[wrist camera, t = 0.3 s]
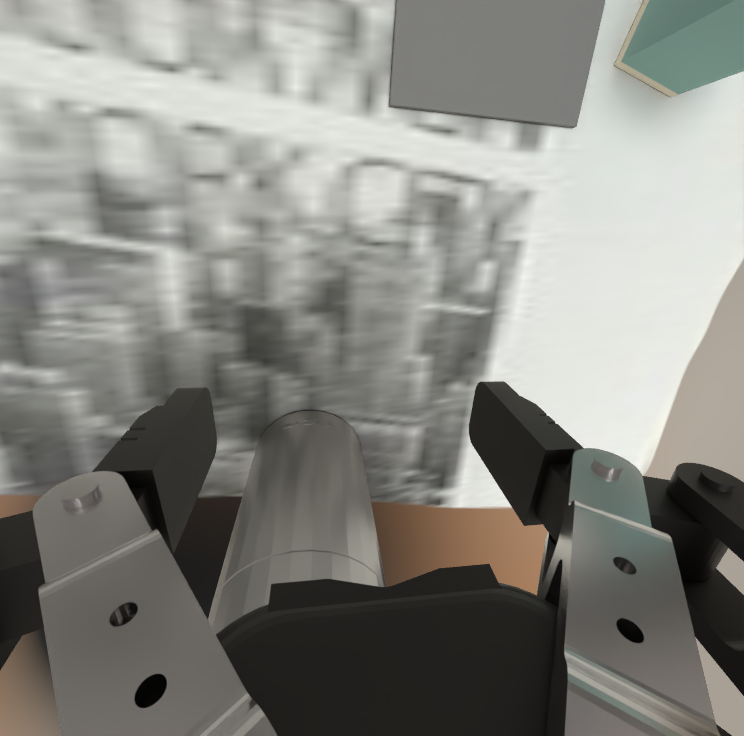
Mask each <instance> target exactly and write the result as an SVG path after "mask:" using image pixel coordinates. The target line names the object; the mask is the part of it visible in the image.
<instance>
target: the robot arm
mask: <svg viewBox="0 0 744 736" xmlns="http://www.w3.org/2000/svg"><path fill="white" fill-rule="evenodd" d="M469 436H470V440H471V443H472V445H473V446H474V448H475V450H476V451H477V453H478V454H479V456H480V457H481V459H482V461H483V462H484V464H485V465H486V467H487V468H488V470H489V472H490V473H491V475H492V476H493V478H494V479H495V481H496V483H497V484H498V486H499V487H500V489H501V490H502V492H503V494H504V495H505V497H506V498H507V500H508V501H509V503H510V504H511V506H512V508H513V509H514V511H515V512H516V514H517V515H518V517H519V519H520V520H521V522H522V523H523V525H524V526H527V525H539V524H543V525H544V526H545V528H546V529H547V531H548V534H547V537H546V541H545V546H544V553H543V559H542V565H541V572H540V578H539V584H538V591H537V596H536V595H534V594H532V593H530V592H527V591H525V590H522V589H520V588H517V587H513V586H510V585H506V584H502V583H498V581H497V579H496V577H495V575H494V573H493V571H492V569H491V567H490V564H484V565H472V566H462V567H452V568H451V567H450V568H439V569H437V570H434V571H431V572H428V573H426V574H423V575H421V576H418V577H415V578H412V579H410V580H407V581H405V582H402V583H399V584H396V585H394V586H390V587H386V584H385V578H384V573H383V568H382V562H381V556H380V550H379V545H378V539H377V534H376V528H375V522H374V517H373V512H372V506H371V500H370V495H369V489H368V484H367V478H366V472H365V466H364V461H363V456H362V450H361V445H360V441H359V439H358V437H357V435H356V433H355V432H354V430H353V429H352V428H351V427H350V426H349V425H348V424H347V423H346V422H345V421H343V420H342V419H340V418H338V417H336V416H334V415H332V414H329V413H325V412H322V411H300V412H295V413H292V414H288V415H286V416H284V417H282V418H280V419H278V420H276V421H275V422H274V423H273V424H271V425H270V426H269V427H268V428H267V429H266V431H265V432H264V433H263V434H262V436H261V438H260V440H259V442H258V445H257V448H256V452H255V455H254V459H253V462H252V466H251V469H250V472H249V476H248V479H247V483H246V486H245V490H244V493H243V497H242V500H241V504H240V507H239V511H238V515H237V518H236V522H235V525H234V529H233V532H232V536H231V539H230V543H229V546H228V550H227V553H226V557H225V560H224V564H223V567H222V571H221V575H220V578H219V582H218V585H217V589H216V593H215V596H214V599H213V603H212V606H211V611H210V615H209V618H208V620H207V618H206V616H205V614H204V613H203V611H202V609H201V607H200V606H199V604H198V602H197V600H196V598H195V596H194V594H193V592H192V591H191V589H190V587H189V585H188V583H187V582H186V580H185V578H184V576H183V574H182V572H181V571H180V569H179V567H178V565H177V563H176V561H175V560H174V558H173V556H172V554H174V552H175V549H176V547H177V545H178V542H179V540H180V537H181V535H182V533H183V530H184V528H185V526H186V523H187V521H188V518H189V516H190V513H191V511H192V509H193V506H194V504H195V502H196V499H197V497H198V495H199V492H200V490H201V487H202V485H203V483H204V480H205V478H206V475H207V473H208V471H209V468H210V466H211V464H212V461H213V459H214V456H215V453H216V446H217V435H216V428H215V422H214V415H213V409H212V402H211V396H210V392H209V390H208V388H178V389H176V390H175V392H174V393H173V394H172V395H171V397H170V398H169V399H168V401H167V402H166V403H165V404H164V406H156V407H154V408H152V409H151V410H149V411H147V412H146V413H144V414H143V415H141V416H139V418H138V419H137V420H136V421H135V422H134V423H133V425H132V426H131V427H130V430H129V431H127V432H126V433H125V434H124V435H123V436H122V438H121V441H118V442H117V443H116V445H115V446H114V447H113V448H112V449H111V450H110V452H109V453H108V454H107V455H106V456H105V457H104V459H103V460H102V461H101V462H100V463H99V464H98V466H97V467H96V468H95V469H94V470H93V471H92V472H91V473H86V474H82V475H79V476H76V477H73V478H71V479H68V480H66V481H64V482H62V483H60V484H58V485H57V486H55V487H53V488H52V489H50V490H49V491H48V492H46V493H45V494H44V495H43V496H42V497H41V498H40V499H39V500H38V501H37V503H36V504H35V506H34V509H33V510H32V511H29V512H25V513H21V514H18V515H13V516H9V517H5V518H1V519H0V670H1V668H2V667H3V665H4V663H5V662H6V660H7V659H8V657H9V655H10V654H11V652H12V651H13V649H14V648H15V646H16V644H17V643H18V641H19V640H20V638H21V636H22V635H25V634H27V633H30V632H33V631H35V630H38V629H41V628H44V630H45V636H46V643H47V649H48V654H49V660H50V667H51V672H52V679H53V685H54V691H55V697H56V703H57V709H58V716H59V721H60V728H61V734H62V736H732V735H730V734H729V733H727V732H726V731H725V730H723V729H722V728H721V727H719V726H718V725H717V724H716V723H715V719H714V715H713V710H712V706H711V702H710V698H709V694H708V689H707V685H706V681H705V677H704V672H703V668H702V664H701V660H700V656H699V651H698V647H697V643H696V639H695V637H696V638H697V639H698V641H699V642H700V643H701V644H702V645H703V647H704V648H705V649H706V650H707V651H708V653H709V654H710V655H711V656H712V658H713V659H714V660H715V661H716V663H717V664H718V665H719V666H720V667H721V669H722V670H723V671H724V672H725V673H726V675H727V676H728V677H729V678H730V680H731V681H732V682H733V683H734V685H735V686H736V687H737V688H738V689H739V691H740V692H741V693H742V694H743V696H744V595H743V594H742V593H741V592H740V591H739V590H738V589H737V588H736V587H734V586H733V584H731V583H730V582H729V581H728V580H727V579H726V578H725V577H724V576H723V575H722V574H721V573H720V572H719V571H718V570H717V569H716V567H717V565H718V564H719V562H720V560H721V559H722V557H723V556H724V554H725V552H726V551H727V549H728V548H729V549H731V551H733V552H734V553H735V554H736V555H737V556H738V557H739V558H740V559H742V560H743V561H744V482H742V481H741V480H739V479H737V478H735V477H734V476H732V475H730V474H728V473H725V472H723V471H721V470H718V469H715V468H713V467H709V466H706V465H701V464H696V463H682V464H680V465H678V466H677V467H676V469H675V471H674V473H673V475H672V477H671V480H664V479H658V478H652V477H646V476H642V474H641V473H640V471H639V470H638V469H637V468H636V467H635V466H634V465H633V464H631V463H630V462H629V461H627V460H625V459H624V458H622V457H620V456H618V455H615V454H613V453H610V452H607V451H604V450H599V449H592V448H585V449H584V448H583V447H582V446H581V445H580V444H579V443H577V442H576V441H575V440H574V439H573V438H572V437H571V436H570V435H569V434H568V433H567V432H566V431H564V430H563V429H562V428H561V427H560V426H559V425H558V424H555V421H554V420H552V419H551V418H550V417H549V416H546V413H545V412H544V411H543V410H542V409H541V408H539V407H538V406H537V405H536V404H534V403H533V402H531V401H529V400H527V399H525V398H523V397H521V396H519V395H518V394H517V393H516V392H515V391H514V390H513V389H512V388H511V387H510V386H509V385H508V384H507V383H505V382H479V383H478V385H477V387H476V390H475V395H474V401H473V406H472V412H471V418H470V423H469Z"/></svg>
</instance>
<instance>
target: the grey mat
mask: <svg viewBox="0 0 744 736" xmlns="http://www.w3.org/2000/svg"><path fill="white" fill-rule="evenodd" d="M604 4H605V0H396V8H395V23H394V38H393V53H392V68H391V83H390V98H389V107H397V108H406V109H415V110H423V111H432V112H440V113H449V114H458V115H466V116H475V117H483V118H492V119H500V120H509V121H518V122H526V123H535V124H543V125H552V126H561V127H569V128H574V127H577V122H578V118H579V114H580V109H581V105H582V100H583V96H584V92H585V87H586V83H587V79H588V74H589V70H590V65H591V61H592V57H593V52H594V48H595V44H596V39H597V35H598V30H599V26H600V22H601V17H602V13H603V9H604Z"/></svg>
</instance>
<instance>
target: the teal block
mask: <svg viewBox="0 0 744 736" xmlns="http://www.w3.org/2000/svg"><path fill="white" fill-rule="evenodd" d="M615 66H616V67H618V68H620V69H622V70H623V71H625V72H627V73H629V74H630V75H632V76H634V77H636V78H637V79H639V80H641V81H643V82H644V83H646V84H648V85H650V86H652V87H653V88H655V89H657V90H659V91H660V92H662V93H664V94H666V95H667V96H669V97H672V96H675V95H678V94H681V93H684V92H686V91H689V90H692V89H695V88H698V87H700V86H703V85H706V84H709V83H711V82H714V81H717V80H720V79H723V78H725V77H728V76H731V75H734V74H737V73H739V72H742V71H744V0H644V1H643V3H642V5H641V7H640V10H639V12H638V14H637V16H636V18H635V21H634V23H633V25H632V27H631V29H630V32H629V34H628V36H627V38H626V40H625V43H624V45H623V47H622V49H621V51H620V54H619V56H618V58H617V60H616V62H615Z"/></svg>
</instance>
